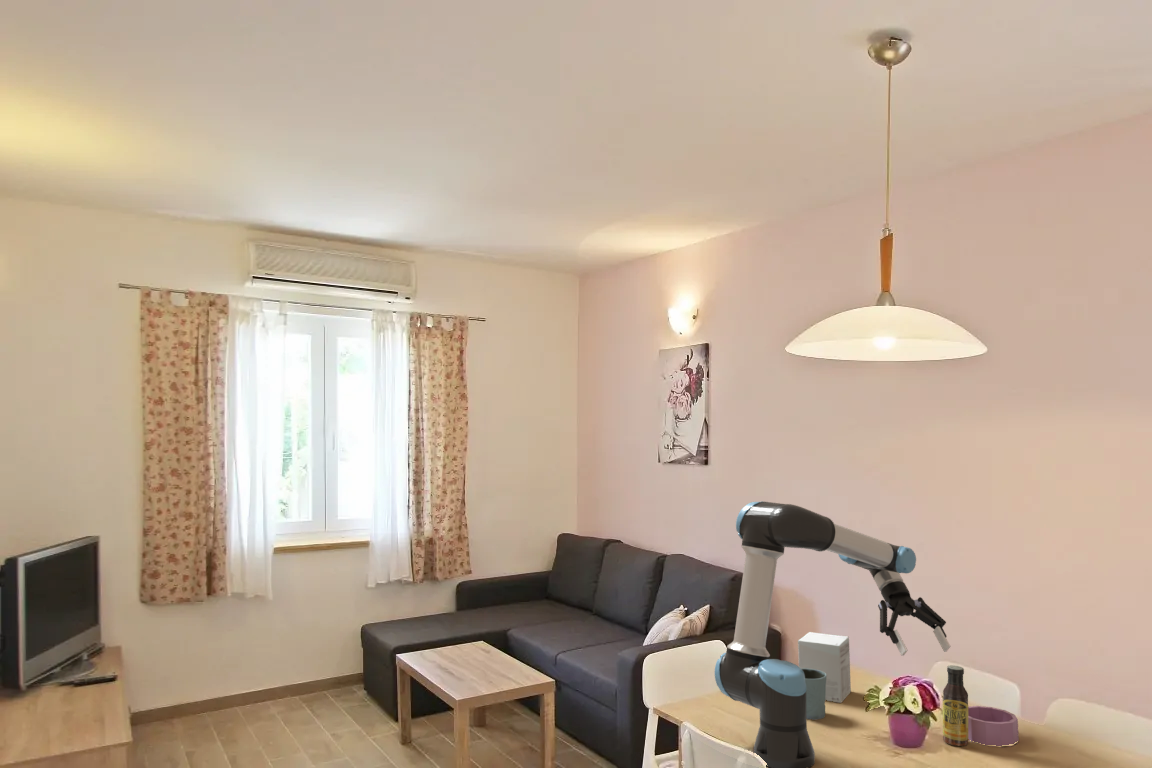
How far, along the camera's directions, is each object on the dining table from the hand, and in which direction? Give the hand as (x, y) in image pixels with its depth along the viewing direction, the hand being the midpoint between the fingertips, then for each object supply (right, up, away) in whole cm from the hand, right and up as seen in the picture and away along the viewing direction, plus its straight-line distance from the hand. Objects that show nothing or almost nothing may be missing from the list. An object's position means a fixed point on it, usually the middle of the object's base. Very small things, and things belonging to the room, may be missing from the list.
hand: (926, 651), depth 224 cm
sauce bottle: (+3, -21, -12) cm, 24 cm away
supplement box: (-19, -24, +29) cm, 42 cm away
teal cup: (-30, -22, +10) cm, 39 cm away
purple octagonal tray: (+14, -21, -8) cm, 26 cm away
